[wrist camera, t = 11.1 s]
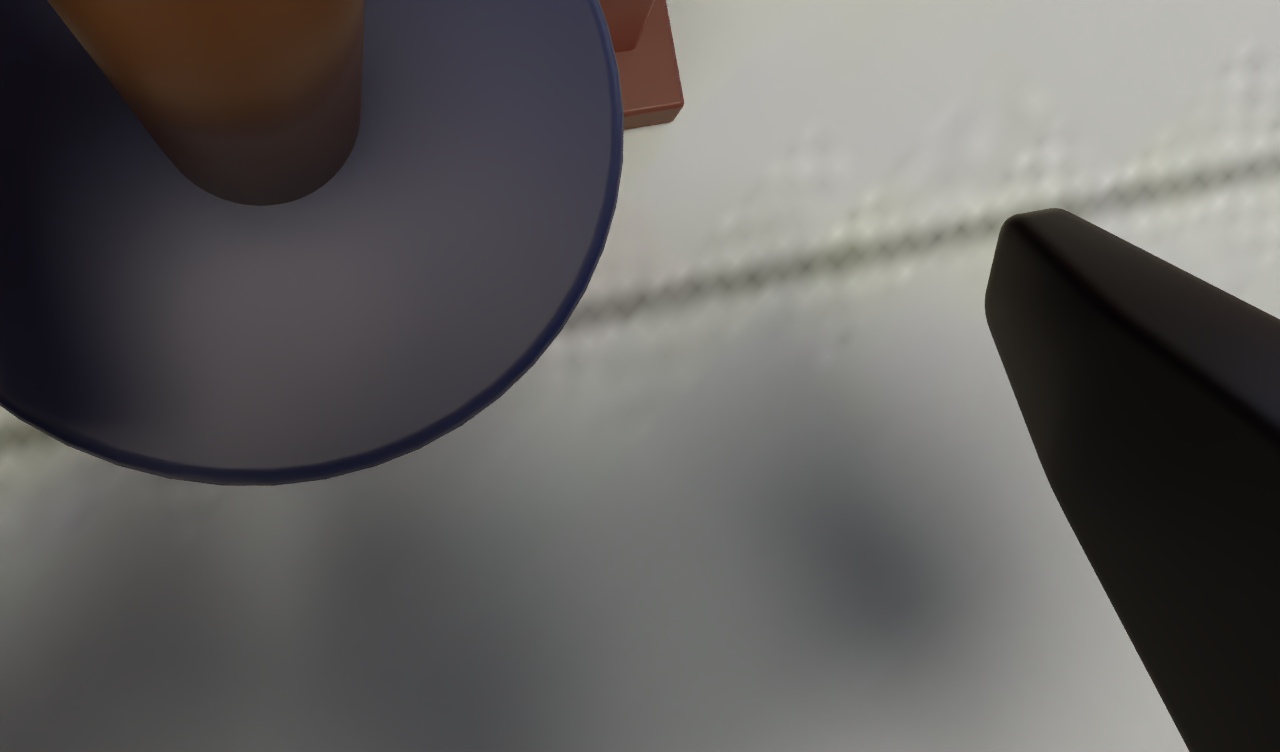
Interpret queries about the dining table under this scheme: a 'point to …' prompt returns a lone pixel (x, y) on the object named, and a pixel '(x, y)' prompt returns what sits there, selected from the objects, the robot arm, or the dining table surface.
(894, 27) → the dining table surface
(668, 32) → the red upright board
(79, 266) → the navy blue cylinder
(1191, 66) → the dining table surface
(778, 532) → the dining table surface
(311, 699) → the dining table surface
